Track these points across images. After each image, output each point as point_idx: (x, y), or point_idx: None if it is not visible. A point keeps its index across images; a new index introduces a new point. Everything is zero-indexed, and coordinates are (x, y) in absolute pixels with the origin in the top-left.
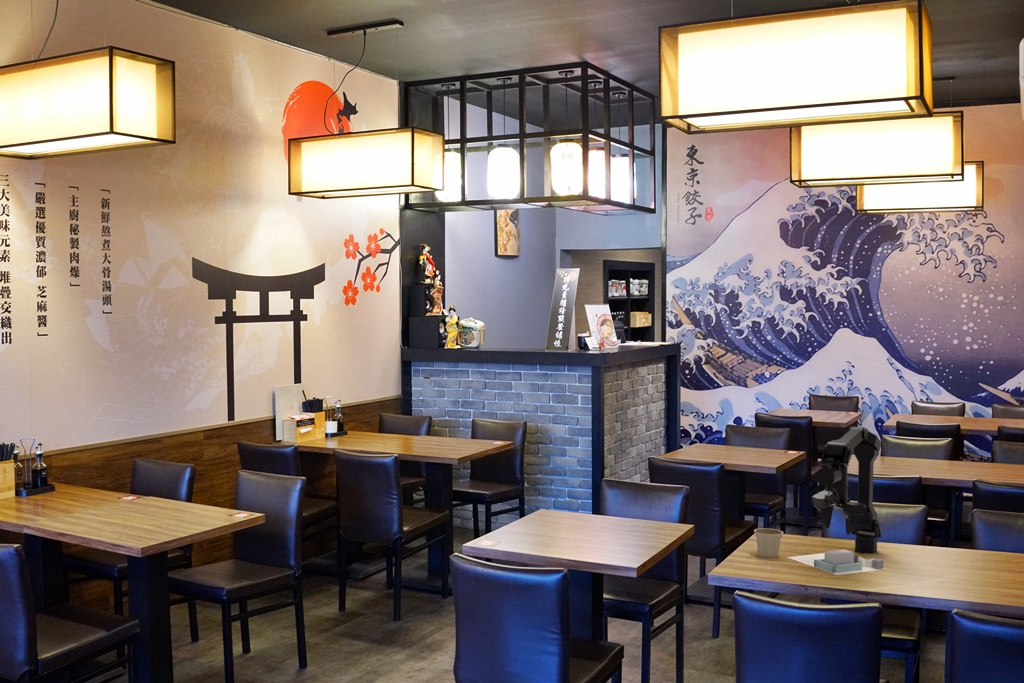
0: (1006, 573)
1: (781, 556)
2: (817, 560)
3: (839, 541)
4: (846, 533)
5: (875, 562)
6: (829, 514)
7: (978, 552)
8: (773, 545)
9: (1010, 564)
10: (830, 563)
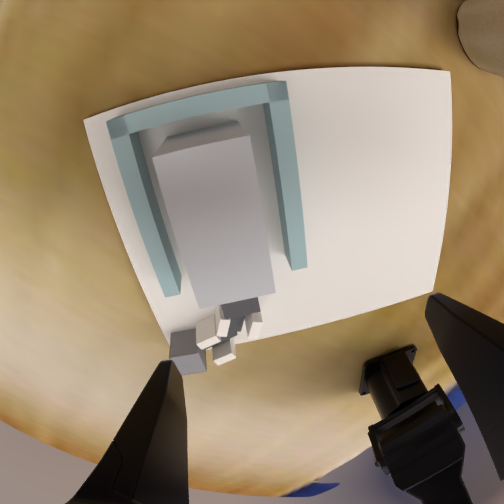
0: None
1: (481, 92)
2: (266, 91)
3: None
4: (166, 363)
5: (181, 349)
6: (488, 406)
7: (297, 482)
8: (495, 18)
9: (217, 490)
10: (186, 136)
